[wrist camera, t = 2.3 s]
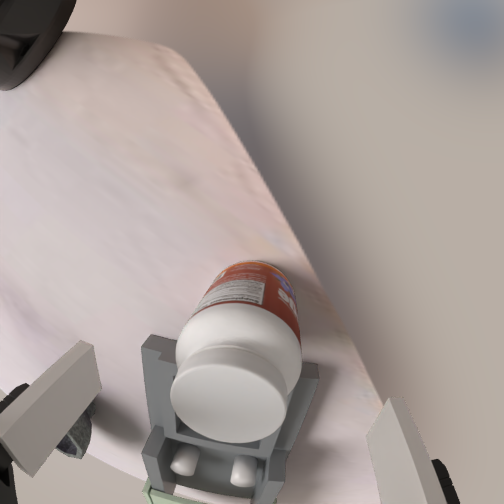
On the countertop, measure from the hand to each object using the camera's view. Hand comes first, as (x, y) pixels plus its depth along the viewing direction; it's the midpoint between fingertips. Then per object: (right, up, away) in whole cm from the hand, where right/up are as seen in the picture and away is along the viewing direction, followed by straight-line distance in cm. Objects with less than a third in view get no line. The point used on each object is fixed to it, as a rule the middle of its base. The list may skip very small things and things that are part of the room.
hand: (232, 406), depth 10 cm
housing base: (-2, -13, +14) cm, 20 cm away
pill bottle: (+1, +3, +10) cm, 11 cm away
